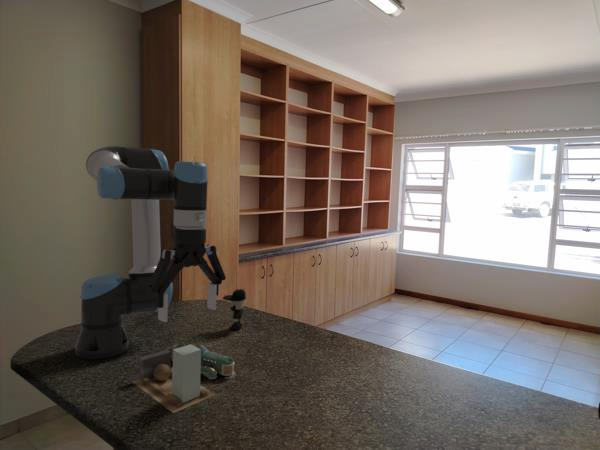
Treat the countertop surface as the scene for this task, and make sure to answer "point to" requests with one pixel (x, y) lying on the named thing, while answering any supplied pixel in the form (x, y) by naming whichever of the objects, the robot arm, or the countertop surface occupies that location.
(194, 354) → the block
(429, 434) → the countertop surface
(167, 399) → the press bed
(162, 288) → the robot arm
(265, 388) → the countertop surface
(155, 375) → the walnut
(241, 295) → the toy
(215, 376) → the hoverbike
